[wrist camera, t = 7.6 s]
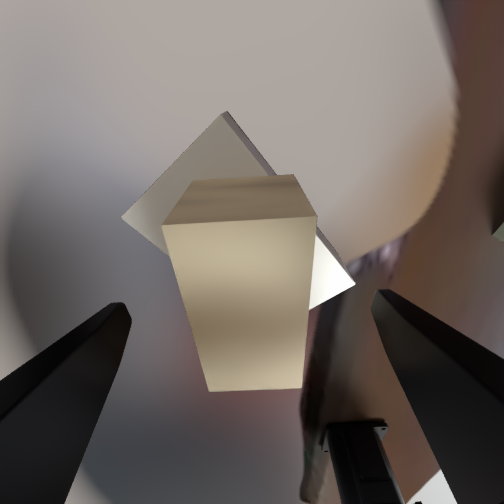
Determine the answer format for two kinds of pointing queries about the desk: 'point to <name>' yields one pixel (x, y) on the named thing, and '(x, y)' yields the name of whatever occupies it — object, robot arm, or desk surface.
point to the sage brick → (499, 233)
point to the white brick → (222, 167)
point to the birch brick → (245, 277)
